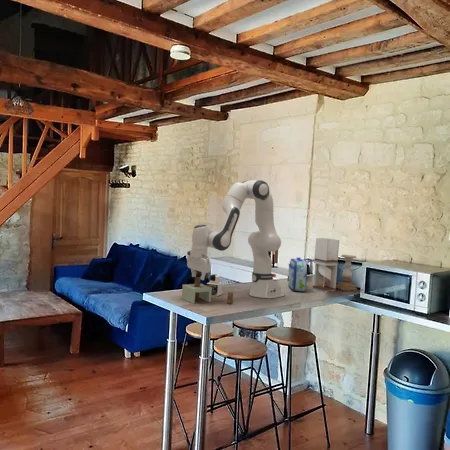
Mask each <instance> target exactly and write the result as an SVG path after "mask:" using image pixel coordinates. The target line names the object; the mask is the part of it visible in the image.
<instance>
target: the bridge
mask: <svg viewBox="0 0 450 450" xmlns="http://www.w3.org/2000/svg"><path fill="white" fill-rule="evenodd" d="M194 286H195V283H189V284H182V290H181V292H182V293H181V299H182V300H183V301H186V302H188V303H190V304H193V305H194V304H195V302H196V301H195V292H199V299H200V298H201V299H200V300H203V301H204V302H207V303H211V302H212V295H211V294H212V288H211V287H209V286H207V284H206V285H205V284H203V283H200V287H194Z"/></svg>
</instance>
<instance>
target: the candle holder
mask: <svg viewBox="0 0 450 450" xmlns="http://www.w3.org/2000/svg"><path fill="white" fill-rule="evenodd" d="M340 256H341V258H344V260H345V263H344V264H343V265H344V267H345V268H344V270H343V272H342V273H341V276H342V282H338V283H336V289H337V288H338V289H337V290H339V289H341V290H340V291H342V290H357V291H358V288H357V287H356V285H354V284H353V283H352V279H351V278H353V272H352V270H351V267H353V266H352V265H353V264H352V260H353V259H356V258H357V256H356V255H352V254H341V255H340Z"/></svg>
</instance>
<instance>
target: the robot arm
mask: <svg viewBox="0 0 450 450" xmlns="http://www.w3.org/2000/svg"><path fill="white" fill-rule="evenodd" d="M246 199H252V200H254V202H255V207H254V209H255V210H254V211H255V212H254V213H255V215H254V219H255V221H254V222H255V224H256V226H257V227H258V231H253V232H251V233H250V234H249V235H248V238H247V240H248V241H247V242H248V244H249V246H250V248H251V252H252V256H253V267H252V268H253V271H252V273H251V287H250V290H249V293H248V295H249V296H251V297H255V298H261V299H274V298H275V299H276V298H281V297H285V294H284V293H282V288H281V285H280V284H278V283H277V281H276V280H274V278H276V277H277V274H276V273H272V265H273V260H272V259H271V257H270V254H269V252H276V251H278V250H279V249H280V248H281V246H282V240H281V239H282V238H280V237H279V236H280V235H278V233H277V230H276V227H275V222H274V221H275V220H274V201H273V200H274V199H273V195H272V193H271V192H270V188H269V184H268V182H266V181H264V180H261V179H260V180H258V179H251V180H245V181H242V182H238V181H237V182H234V183H233V184H232V186H231V187H230V188H229V190H228V192H227V193H226V195H225V197H224V198H223V201H222V204H221V207H222V209H223V212H224V213H225V214H226V220H225V222H224V225H223V227H222V229H221V230H220V231H216V230H214V229H212V228H211V227H209V226H208V225H207V224H197V225H195V226H193V229H192V234H191V235H192V236H191V242H192V245H191V249H190V250H188V251H187V253H186V256H187V258H186V265H187V268H188V269H190V271H191V277H192V278H195V277H197V273H196V271H198V272H199V273H200V272H201V276H199V277H200V281H205V276H206V275H207V274H209V273H210V272H211V260H210V258H209V256H208V248H212V249H216V250H218V251H222V252H223V251H226V250H228V249H229V247H230V245H231V243H232V236H233V233H234V231H235V228H236V226H237V224H238V220H239V218H240V215H241V209H242V206H243V204H244V203H245V201H246Z"/></svg>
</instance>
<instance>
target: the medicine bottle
mask: <svg viewBox="0 0 450 450" xmlns="http://www.w3.org/2000/svg"><path fill="white" fill-rule="evenodd" d="M206 286H209V287H211V288H212V294H211V297H218V296H221V295H222V290H223V289H222V288H223V283H222V282H221V275H219V274H213V273H212V274H210V275H209V282H207V283H206Z"/></svg>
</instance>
